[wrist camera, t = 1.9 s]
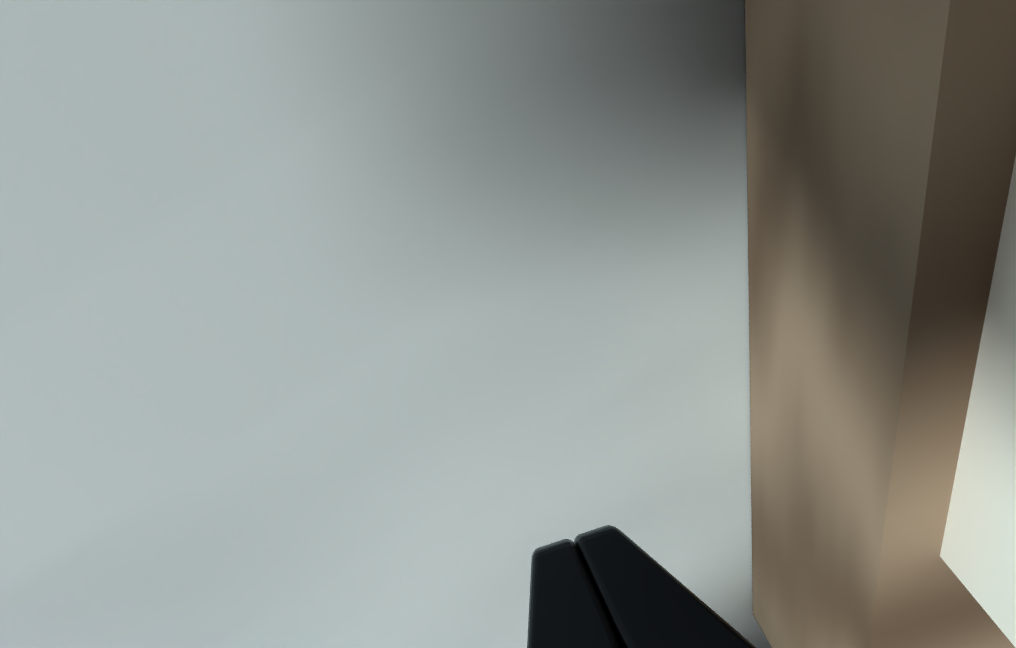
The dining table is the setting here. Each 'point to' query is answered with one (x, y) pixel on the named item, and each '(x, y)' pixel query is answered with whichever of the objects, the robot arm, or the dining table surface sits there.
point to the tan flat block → (869, 305)
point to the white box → (990, 452)
